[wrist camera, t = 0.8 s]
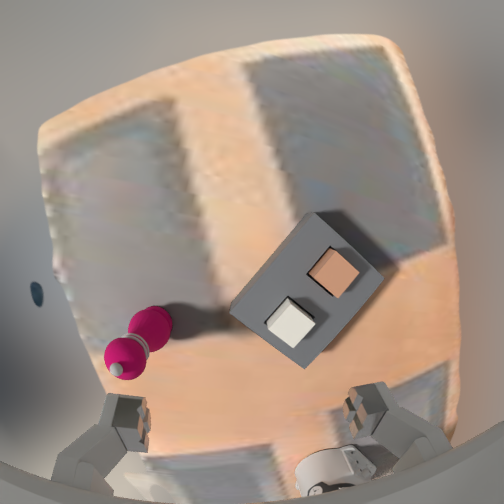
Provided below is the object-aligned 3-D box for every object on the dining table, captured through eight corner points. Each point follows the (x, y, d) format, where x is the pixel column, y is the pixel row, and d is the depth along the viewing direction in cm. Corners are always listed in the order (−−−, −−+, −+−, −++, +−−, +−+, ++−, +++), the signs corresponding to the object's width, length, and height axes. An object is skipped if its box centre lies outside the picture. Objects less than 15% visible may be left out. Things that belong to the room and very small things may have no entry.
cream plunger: (309, 313, 48) (315, 324, 43) (289, 336, 49) (293, 348, 44) (286, 295, 48) (290, 304, 43) (266, 318, 48) (268, 329, 43)
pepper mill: (180, 312, 52) (145, 361, 32) (169, 345, 53) (134, 404, 33) (143, 297, 52) (93, 337, 32) (134, 331, 52) (86, 381, 33)
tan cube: (348, 267, 48) (359, 272, 43) (329, 290, 48) (337, 298, 43) (327, 247, 47) (335, 250, 42) (307, 271, 48) (313, 277, 43)
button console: (371, 272, 52) (384, 278, 46) (299, 354, 53) (304, 369, 47) (306, 213, 50) (314, 212, 45) (231, 302, 52) (229, 312, 46)
